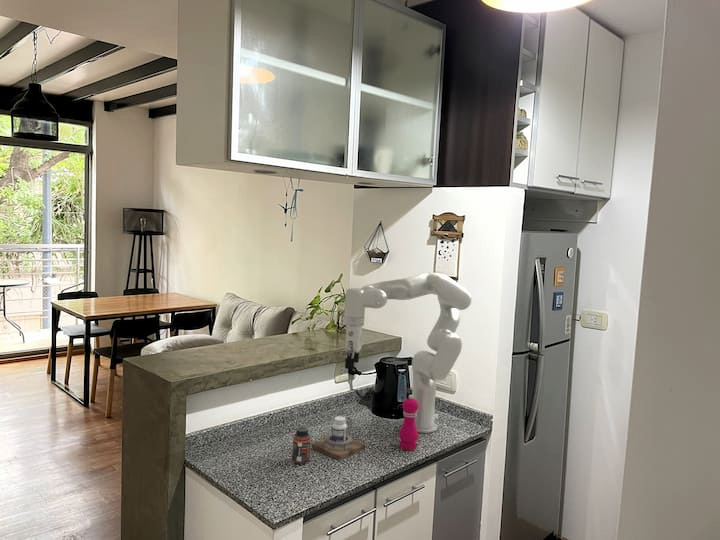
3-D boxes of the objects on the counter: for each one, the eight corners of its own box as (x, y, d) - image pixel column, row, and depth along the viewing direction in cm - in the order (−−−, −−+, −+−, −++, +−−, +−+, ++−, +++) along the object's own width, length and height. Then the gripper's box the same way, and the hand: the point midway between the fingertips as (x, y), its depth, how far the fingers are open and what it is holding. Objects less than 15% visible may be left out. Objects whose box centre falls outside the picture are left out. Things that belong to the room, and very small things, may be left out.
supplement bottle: (302, 466, 178) (303, 433, 177) (288, 461, 181) (289, 429, 180) (312, 460, 183) (314, 428, 182) (299, 455, 187) (300, 424, 186)
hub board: (337, 437, 204) (337, 427, 204) (365, 448, 195) (365, 438, 195) (311, 447, 193) (311, 437, 193) (339, 460, 184) (340, 449, 184)
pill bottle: (337, 439, 198) (338, 414, 197) (349, 443, 195) (350, 418, 194) (328, 444, 194) (329, 418, 193) (339, 448, 190) (341, 422, 190)
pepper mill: (416, 451, 194) (419, 398, 193) (396, 449, 196) (400, 396, 194) (418, 444, 202) (421, 392, 200) (399, 441, 203) (402, 390, 201)
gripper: (360, 326, 191) (357, 372, 193) (367, 318, 208) (365, 360, 210) (339, 324, 193) (337, 370, 194) (348, 316, 210) (346, 358, 211)
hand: (351, 365), depth 202 cm, fingers open, 9 cm apart
